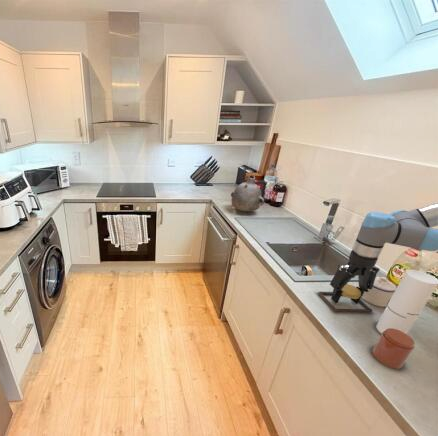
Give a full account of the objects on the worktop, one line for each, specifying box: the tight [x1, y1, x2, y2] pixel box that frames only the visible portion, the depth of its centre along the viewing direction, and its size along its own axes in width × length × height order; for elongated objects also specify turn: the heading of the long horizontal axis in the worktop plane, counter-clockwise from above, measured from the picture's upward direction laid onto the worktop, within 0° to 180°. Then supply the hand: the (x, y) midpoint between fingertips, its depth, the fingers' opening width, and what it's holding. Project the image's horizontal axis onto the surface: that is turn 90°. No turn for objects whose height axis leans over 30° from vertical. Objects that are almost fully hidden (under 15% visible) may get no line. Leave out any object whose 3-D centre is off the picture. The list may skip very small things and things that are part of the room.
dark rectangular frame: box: [317, 291, 373, 314], centre depth 96 cm, size 14×10×2 cm
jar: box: [372, 328, 415, 370], centre depth 72 cm, size 7×7×10 cm
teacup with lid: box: [361, 276, 397, 308], centre depth 97 cm, size 12×9×12 cm
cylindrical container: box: [375, 269, 438, 335], centre depth 78 cm, size 7×7×25 cm
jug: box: [230, 174, 265, 213], centre depth 184 cm, size 24×21×30 cm
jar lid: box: [341, 283, 361, 300], centre depth 94 cm, size 7×7×2 cm
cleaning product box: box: [242, 179, 268, 203], centre depth 205 cm, size 16×9×20 cm, turn 88°
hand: (344, 301), depth 96 cm, fingers closed on jar lid, 7 cm apart
